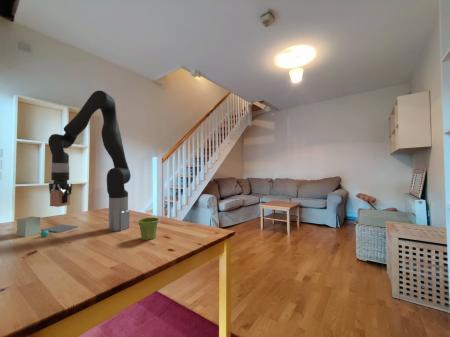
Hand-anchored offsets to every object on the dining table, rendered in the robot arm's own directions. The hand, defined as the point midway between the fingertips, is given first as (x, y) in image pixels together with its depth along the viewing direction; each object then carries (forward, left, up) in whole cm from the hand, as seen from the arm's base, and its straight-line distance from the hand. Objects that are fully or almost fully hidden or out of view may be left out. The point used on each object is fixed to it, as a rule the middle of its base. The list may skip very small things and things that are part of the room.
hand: (60, 202), depth 107 cm
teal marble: (-6, +11, -14) cm, 19 cm away
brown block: (0, 0, -2) cm, 2 cm away
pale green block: (+5, +11, -14) cm, 19 cm away
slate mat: (0, 0, -14) cm, 14 cm away
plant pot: (-55, -1, -15) cm, 57 cm away
